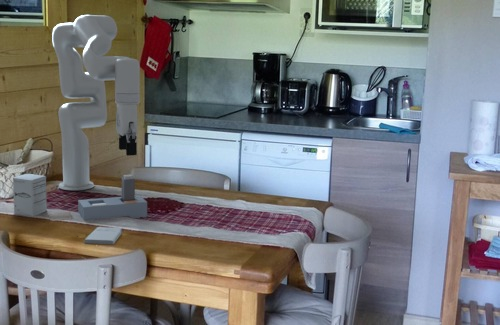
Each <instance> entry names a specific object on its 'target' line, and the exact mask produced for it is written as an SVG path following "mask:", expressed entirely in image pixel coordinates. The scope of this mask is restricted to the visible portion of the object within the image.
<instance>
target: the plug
mask: <svg viewBox="0 0 500 325" xmlns="http://www.w3.org/2000/svg"><path fill="white" fill-rule="evenodd" d="M135 183H136V180H135V178H134V176H133V175H132V174H130V173H129V174H123V177H121V197H122V202H124V201H134V200H135V196H136V194H135V193H136V191H135V190H136V189H135V188H136V187H135V185H136V184H135Z"/></svg>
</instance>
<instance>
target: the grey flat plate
mask: <svg viewBox="0 0 500 325" xmlns="http://www.w3.org/2000/svg"><path fill="white" fill-rule="evenodd" d="M46 216H47V217H48V219H49V220H50V221H51V222H54V221H55V222H56V221H68V220H75V218H74V216H73V214H72V213H71V212H70V211H67V212H58V213H57V212H56V213H55V212H54V213H46Z"/></svg>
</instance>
